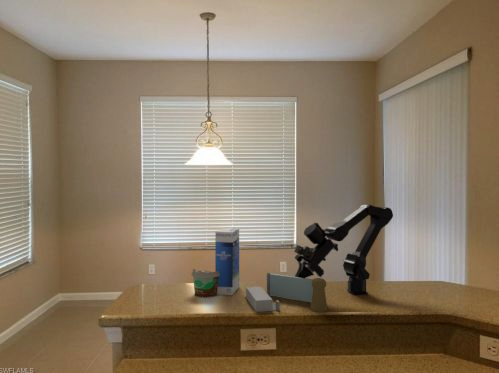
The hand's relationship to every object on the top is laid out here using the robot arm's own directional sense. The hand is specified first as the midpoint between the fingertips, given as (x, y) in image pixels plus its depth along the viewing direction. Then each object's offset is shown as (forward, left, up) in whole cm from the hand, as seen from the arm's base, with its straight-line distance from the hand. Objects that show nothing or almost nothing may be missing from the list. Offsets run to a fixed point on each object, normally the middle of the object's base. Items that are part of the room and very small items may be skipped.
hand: (294, 281), depth 151 cm
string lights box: (+24, -17, -7) cm, 30 cm away
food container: (+35, -12, -7) cm, 37 cm away
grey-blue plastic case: (+13, +2, -7) cm, 15 cm away
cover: (0, 0, -7) cm, 7 cm away
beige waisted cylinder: (-5, +14, -7) cm, 16 cm away
